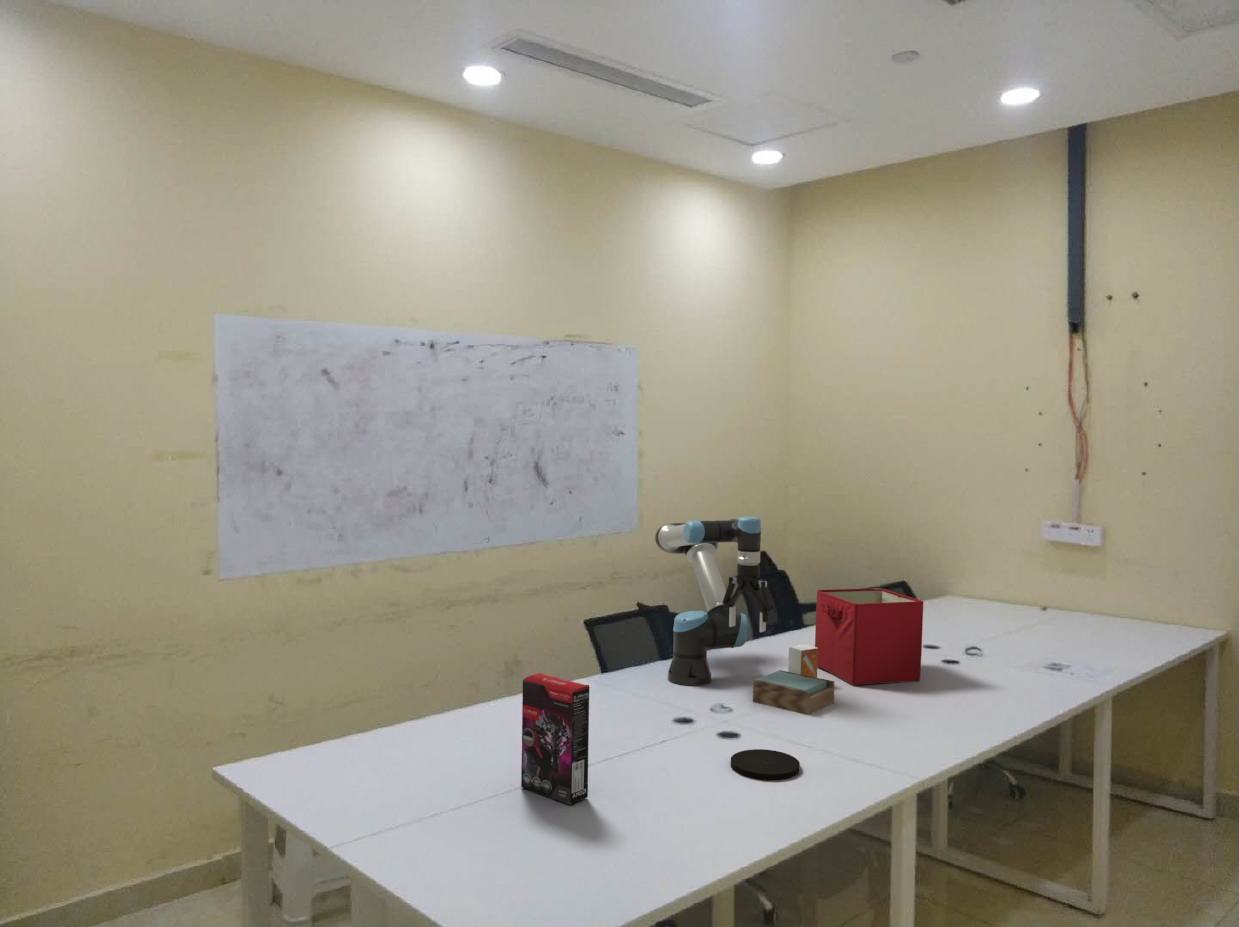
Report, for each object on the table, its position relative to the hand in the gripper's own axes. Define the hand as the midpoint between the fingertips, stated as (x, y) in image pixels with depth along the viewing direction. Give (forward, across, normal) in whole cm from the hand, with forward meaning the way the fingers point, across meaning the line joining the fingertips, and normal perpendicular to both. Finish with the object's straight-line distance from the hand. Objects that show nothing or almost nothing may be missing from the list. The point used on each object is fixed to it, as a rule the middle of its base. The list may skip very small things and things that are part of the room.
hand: (747, 628), depth 311 cm
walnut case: (+21, +18, 0) cm, 28 cm away
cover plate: (+16, +17, 0) cm, 23 cm away
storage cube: (+21, +20, +48) cm, 57 cm away
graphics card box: (+21, +11, -105) cm, 107 cm away
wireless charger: (+22, +41, -56) cm, 72 cm away
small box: (+21, +10, +20) cm, 31 cm away
